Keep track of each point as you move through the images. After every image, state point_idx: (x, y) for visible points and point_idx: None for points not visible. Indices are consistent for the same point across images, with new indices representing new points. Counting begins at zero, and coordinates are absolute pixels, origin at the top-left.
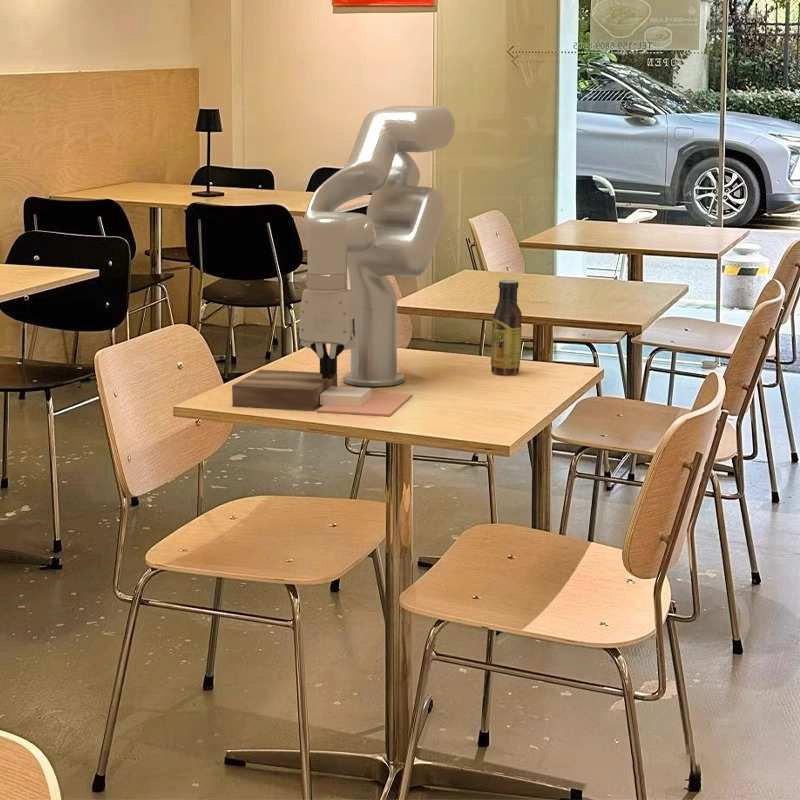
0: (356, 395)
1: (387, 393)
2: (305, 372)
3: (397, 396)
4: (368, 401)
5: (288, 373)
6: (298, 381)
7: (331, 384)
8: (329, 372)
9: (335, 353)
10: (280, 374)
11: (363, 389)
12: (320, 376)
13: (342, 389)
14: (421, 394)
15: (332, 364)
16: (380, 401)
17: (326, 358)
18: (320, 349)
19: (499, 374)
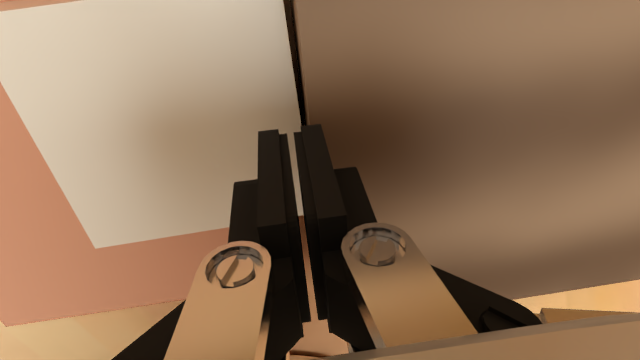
0: (25, 45)
1: (107, 303)
2: None
3: (29, 279)
4: None
5: (570, 248)
6: (486, 90)
7: None
8: (260, 151)
9: (188, 295)
10: (612, 216)
11: (109, 209)
12: None
13: (217, 168)
14: (6, 351)
15: (249, 222)
16: (19, 174)
17: (316, 257)
18: (391, 300)
19: None
